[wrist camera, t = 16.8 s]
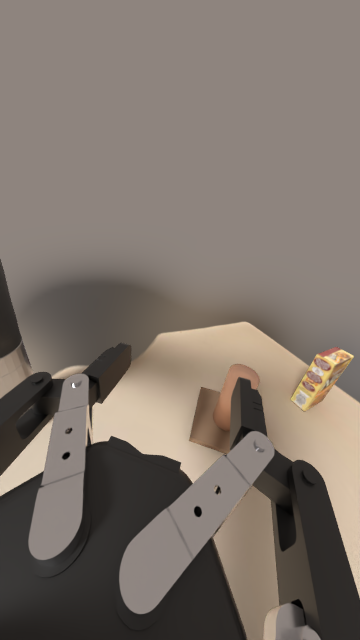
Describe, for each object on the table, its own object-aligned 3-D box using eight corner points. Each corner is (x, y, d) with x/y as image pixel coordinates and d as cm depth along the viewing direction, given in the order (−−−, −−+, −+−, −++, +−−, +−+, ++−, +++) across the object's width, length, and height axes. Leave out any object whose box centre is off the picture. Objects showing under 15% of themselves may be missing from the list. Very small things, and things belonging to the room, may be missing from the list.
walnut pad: (189, 440, 36) (190, 437, 36) (200, 390, 47) (201, 386, 47) (257, 465, 34) (259, 461, 33) (252, 406, 45) (253, 402, 45)
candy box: (304, 412, 45) (337, 365, 38) (288, 399, 49) (316, 353, 41) (322, 400, 50) (356, 356, 42) (307, 389, 53) (335, 345, 46)
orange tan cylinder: (211, 426, 38) (228, 381, 32) (214, 403, 43) (229, 361, 36) (238, 435, 37) (261, 391, 31) (238, 411, 42) (257, 369, 36)
